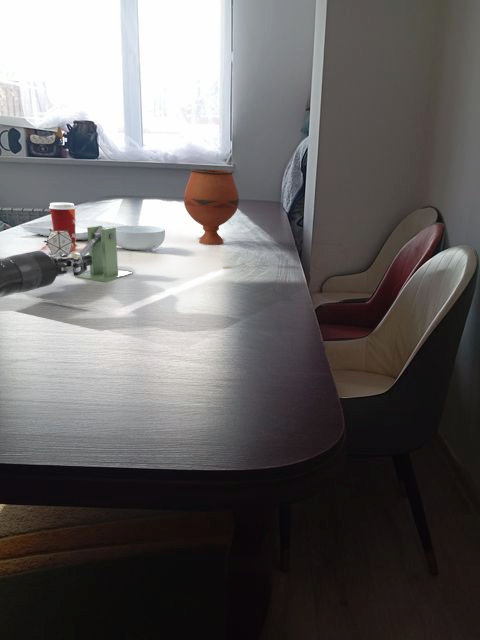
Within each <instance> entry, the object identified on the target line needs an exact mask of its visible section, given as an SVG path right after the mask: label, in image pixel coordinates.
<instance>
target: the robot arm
mask: <svg viewBox="0 0 480 640" xmlns="http://www.w3.org/2000/svg"><path fill="white" fill-rule="evenodd" d="M68 255H69V254H67V255H62V254H60V255H56V254H52V253H46V252H45V251H42V250H34V251H28V252H24V253H19V254H13V255H10V256H7V257H5V258H0V298H4V297H8V296H12V295H14V294H22V293H26V292H30V291H33V290H37V289H41V288H45V287H49V286H51V285H52V284H53V283H54V282H55V281H56V278H57V277H62V276H64V275H67V274H73V276H74V277H75V276H78V275H80V274H84V273H86V271H88V267H90V265H92V256H90V255H89V254H86V255H85V256H82V257H77V258H73V257H68ZM67 260H68V261H67ZM75 261H77V262H75Z"/></svg>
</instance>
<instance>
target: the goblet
mask: <svg viewBox="0 0 480 640" xmlns="http://www.w3.org/2000/svg"><path fill="white" fill-rule="evenodd" d="M190 172H191V173H190V176H189V178H188V181H187V185H186V186H185V190H184V195H183V204H184V208H185V210H186V212H187V214H188V215H189V216H190V217H191V218H192V219H193V221H195V223H198V224H199V225H201V226H202V230H204V233H203V234H202V236H201V237H199V241H198V243H200V244H202V243H203V244H202V245H209V246H211V245H213V246H215V245H222V244H224V240H223V238H222V237H221V236H220V234H219V233H218V231H219V230H220V226H222V225H224V224H225V223H227V222H228V221H229V220H231V218H233V216H234V215H235V214H236V212H237V210H238V208H239V205H240V204H239V202H240V198H239V192H238V189H237V185H236V182H235V179H234V177H233V171H230V170H226V169H224V170H223V169H192V168H191V169H190Z"/></svg>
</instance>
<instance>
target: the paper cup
mask: <svg viewBox="0 0 480 640" xmlns="http://www.w3.org/2000/svg"><path fill="white" fill-rule="evenodd" d="M48 209H49V211H50V216H51V221H52V224H53V231H67V229H69V231H68V233H69V235H70V237H71V239H72V241H75V242H73V244H76V243H77V240H76V238H75V219H76V209H77V207H76V206H75V203H73V202H63V201H62V202H61V201H60V202H59V201H58V202H50V203H49V207H48ZM76 245H77V244H76ZM76 245H75V246H74V245H73V247H72V250H71V252H75V251H76V247H77V246H76Z"/></svg>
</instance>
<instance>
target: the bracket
mask: <svg viewBox="0 0 480 640" xmlns="http://www.w3.org/2000/svg"><path fill="white" fill-rule="evenodd" d="M100 227H102V226H100V225H99V226H92V227H87V230H88V239H87V244H89V243H90V242H91V241H92V240H93V239H94V238H95V236H94V232H95V231H97V230H98V229H99V228H100ZM101 238H102V242H99V243H98V244H97V245H95V246H94V247H93V248H92V249H91V250H90V251H89V252H88V255H90V256H92V265H89V271H87V272H83V273H82V274H80V275H78V276H75V275H74V278H77V279H82V280H83V279H84V280H90V281H95V282H102V283H108V282H111V281H114V280H117V279H121V278H123V277H127V276H129V275H133V271H132V272H131V271H126V270H121V269H119V268H118V267H119V266H118V265H119V264H118V245H117V243H116V228H115V227H110V228H104V229H101Z"/></svg>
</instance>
